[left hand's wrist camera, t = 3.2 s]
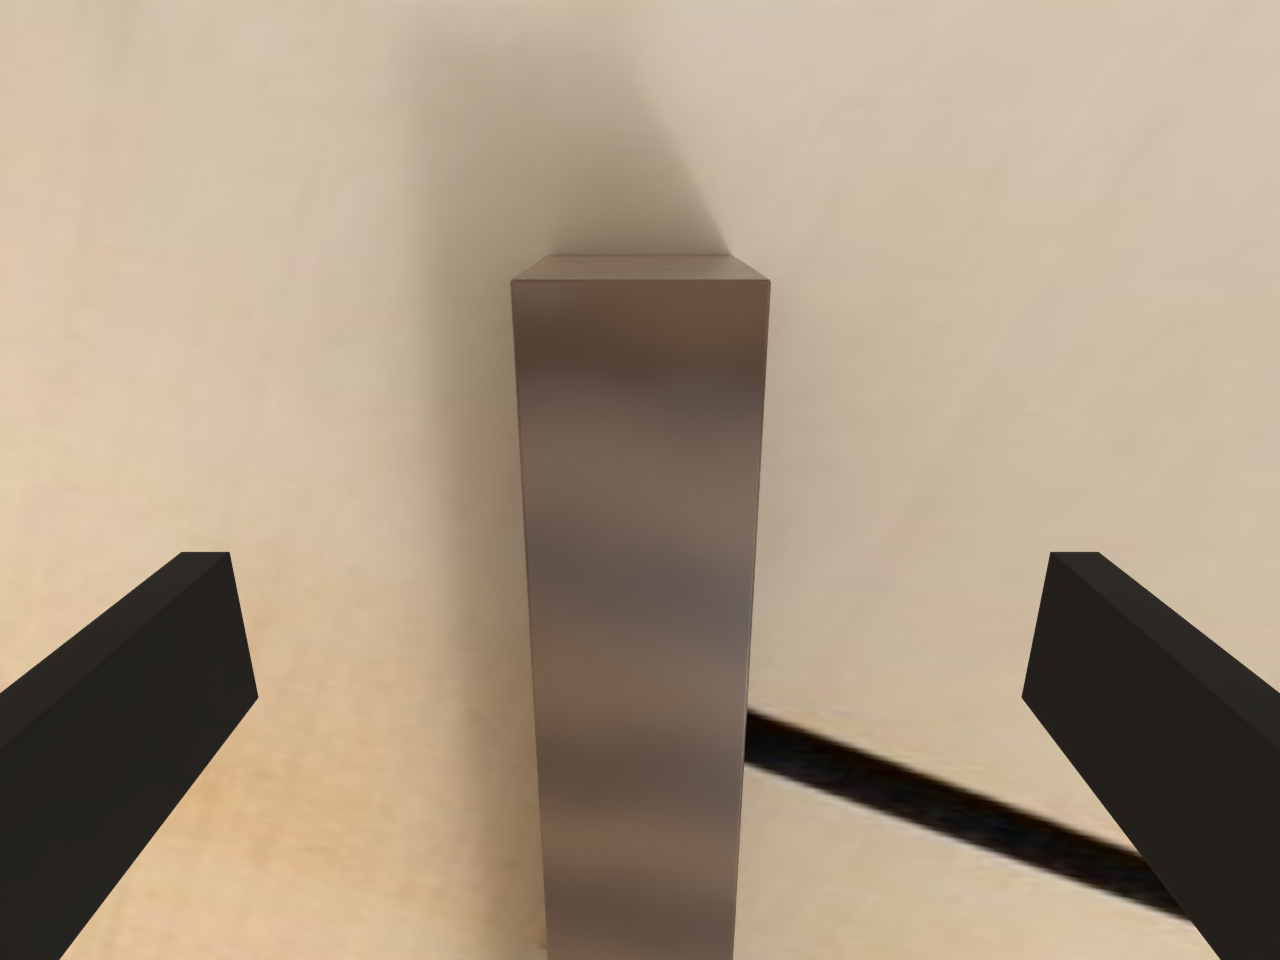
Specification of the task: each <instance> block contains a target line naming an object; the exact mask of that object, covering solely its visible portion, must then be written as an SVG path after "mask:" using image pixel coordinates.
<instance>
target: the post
mask: <svg viewBox="0 0 1280 960" xmlns="http://www.w3.org/2000/svg"><path fill="white" fill-rule="evenodd" d="M510 284H511V302H512V320H513V338H514V356H515V374H516V392H517V410H518V428H519V446H520V464H521V482H522V500H523V518H524V536H525V554H526V572H527V590H528V608H529V626H530V644H531V662H532V680H533V698H534V716H535V735H536V753H537V771H538V789H539V807H540V825H541V843H542V861H543V879H544V897H545V915H546V933H547V951H548V960H733V949H734V931H735V914H736V896H737V878H738V860H739V842H740V824H741V807H742V789H743V771H744V753H745V735H746V717H747V700H748V682H749V664H750V646H751V628H752V610H753V593H754V575H755V557H756V539H757V521H758V504H759V486H760V468H761V450H762V432H763V414H764V397H765V379H766V361H767V343H768V325H769V307H770V290H771V281H770V280H769V279H768V278H766V277H765V276H763V275H762V274H760V273H758V272H757V271H755V270H754V269H752V268H751V267H749V266H748V265H746V264H745V263H743V262H742V261H740V260H739V259H737V258H736V257H734V256H732V255H549V256H547V257H545V258H544V259H542V260H541V261H539V262H538V263H536V264H535V265H533V266H532V267H530V268H529V269H527V270H526V271H524V272H523V273H521V274H520V275H518V276H517V277H515V278H514V279H512V280H511V282H510Z"/></svg>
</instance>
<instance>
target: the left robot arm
mask: <svg viewBox="0 0 1280 960" xmlns="http://www.w3.org/2000/svg"><path fill="white" fill-rule="evenodd" d="M257 699H258V693H257V688H256V683H255V678H254V673H253V668H252V663H251V658H250V653H249V648H248V643H247V638H246V633H245V628H244V623H243V618H242V613H241V608H240V603H239V597H238V592H237V587H236V582H235V577H234V572H233V567H232V562H231V557H230V552H181V553H180V554H178V555H177V556H176V557H175V558H173V559H172V560H171V561H169V562H168V563H167V564H166V565H164V566H163V567H162V568H160V569H159V570H158V571H157V572H155V573H154V574H153V575H151V576H150V577H149V578H148V579H146V580H145V581H144V582H142V583H141V584H140V585H139V586H137V587H136V588H135V589H133V590H132V591H131V592H130V593H128V594H127V595H126V596H124V597H123V598H122V599H121V600H119V601H118V602H117V603H115V604H114V605H113V606H112V607H110V608H109V609H108V610H107V611H105V612H104V613H103V614H101V615H100V616H99V617H98V618H96V619H95V620H94V621H92V622H91V623H90V624H89V625H87V626H86V627H85V628H83V629H82V630H81V631H80V632H78V633H77V634H76V635H74V636H73V637H72V638H71V639H69V640H68V641H67V642H65V643H64V644H63V645H62V646H60V647H59V648H58V649H56V650H55V651H54V652H53V653H51V654H50V655H49V656H47V657H46V658H45V659H44V660H42V661H41V662H40V663H38V664H37V665H36V666H35V667H33V668H32V669H31V670H29V671H28V672H27V673H26V674H24V675H23V676H22V677H20V678H19V679H18V680H17V681H15V682H14V683H13V684H11V685H10V686H9V687H8V688H6V689H5V690H4V691H2V692H1V693H0V960H60V958H61V957H62V956H63V954H64V953H65V952H66V950H67V949H68V948H69V946H70V945H71V944H72V942H73V941H74V940H75V938H76V937H77V936H78V934H79V933H80V932H81V931H82V929H83V928H84V927H85V925H86V924H87V923H88V921H89V920H90V919H91V917H92V916H93V915H94V913H95V912H96V911H97V909H98V908H99V907H100V906H101V904H102V903H103V902H104V900H105V899H106V898H107V896H108V895H109V894H110V892H111V891H112V890H113V888H114V887H115V886H116V884H117V883H118V882H119V880H120V879H121V878H122V877H123V875H124V874H125V873H126V871H127V870H128V869H129V867H130V866H131V865H132V863H133V862H134V861H135V859H136V858H137V857H138V855H139V854H140V853H141V852H142V850H143V849H144V848H145V846H146V845H147V844H148V842H149V841H150V840H151V838H152V837H153V836H154V834H155V833H156V832H157V830H158V829H159V828H160V826H161V825H162V824H163V823H164V821H165V820H166V819H167V817H168V816H169V815H170V813H171V812H172V811H173V809H174V808H175V807H176V805H177V804H178V803H179V801H180V800H181V799H182V798H183V796H184V795H185V794H186V792H187V791H188V790H189V788H190V787H191V786H192V784H193V783H194V782H195V780H196V779H197V778H198V776H199V775H200V774H201V772H202V771H203V770H204V769H205V767H206V766H207V765H208V763H209V762H210V761H211V759H212V758H213V757H214V755H215V754H216V753H217V751H218V750H219V749H220V747H221V746H222V745H223V744H224V742H225V741H226V740H227V738H228V737H229V736H230V734H231V733H232V732H233V730H234V729H235V728H236V726H237V725H238V724H239V722H240V721H241V720H242V718H243V717H244V716H245V715H246V713H247V712H248V711H249V709H250V708H251V707H252V705H253V704H254V703H255V701H256V700H257ZM1022 699H1023V700H1024V701H1025V703H1026V704H1027V705H1028V707H1029V708H1030V709H1031V711H1032V712H1033V713H1034V715H1035V716H1036V717H1037V719H1038V720H1039V721H1040V722H1041V724H1042V725H1043V726H1044V728H1045V729H1046V730H1047V732H1048V733H1049V734H1050V736H1051V737H1052V738H1053V740H1054V741H1055V742H1056V744H1057V745H1058V746H1059V747H1060V749H1061V750H1062V751H1063V753H1064V754H1065V755H1066V757H1067V758H1068V759H1069V761H1070V762H1071V763H1072V765H1073V766H1074V767H1075V769H1076V770H1077V771H1078V772H1079V774H1080V775H1081V776H1082V778H1083V779H1084V780H1085V782H1086V783H1087V784H1088V786H1089V787H1090V788H1091V790H1092V791H1093V792H1094V794H1095V795H1096V796H1097V798H1098V799H1099V800H1100V801H1101V803H1102V804H1103V805H1104V807H1105V808H1106V809H1107V811H1108V812H1109V813H1110V815H1111V816H1112V817H1113V819H1114V820H1115V821H1116V823H1117V824H1118V825H1119V826H1120V828H1121V829H1122V830H1123V832H1124V833H1125V834H1126V836H1127V837H1128V838H1129V840H1130V841H1131V842H1132V844H1133V845H1134V846H1135V848H1136V849H1137V850H1138V852H1139V853H1140V854H1141V855H1142V857H1143V858H1144V859H1145V861H1146V862H1147V863H1148V865H1149V866H1150V867H1151V869H1152V870H1153V871H1154V873H1155V874H1156V875H1157V877H1158V878H1159V879H1160V880H1161V882H1162V883H1163V884H1164V886H1165V887H1166V888H1167V890H1168V891H1169V892H1170V894H1171V895H1172V896H1173V898H1174V899H1175V900H1176V902H1177V903H1178V904H1179V906H1180V907H1181V908H1182V909H1183V911H1184V912H1185V913H1186V915H1187V916H1188V917H1189V919H1190V920H1191V921H1192V923H1193V924H1194V925H1195V927H1196V928H1197V929H1198V931H1199V932H1200V933H1201V934H1202V936H1203V937H1204V938H1205V940H1206V941H1207V942H1208V944H1209V945H1210V946H1211V948H1212V949H1213V950H1214V952H1215V953H1216V954H1217V956H1218V957H1219V958H1220V960H1280V693H1279V692H1278V691H1276V690H1275V689H1274V688H1272V687H1271V686H1270V685H1269V684H1267V683H1266V682H1265V681H1263V680H1262V679H1261V678H1260V677H1258V676H1257V675H1256V674H1254V673H1253V672H1252V671H1251V670H1249V669H1248V668H1247V667H1245V666H1244V665H1243V664H1242V663H1240V662H1239V661H1238V660H1236V659H1235V658H1234V657H1233V656H1231V655H1230V654H1229V653H1227V652H1226V651H1225V650H1224V649H1222V648H1221V647H1220V646H1218V645H1217V644H1216V643H1215V642H1213V641H1212V640H1211V639H1209V638H1208V637H1207V636H1206V635H1204V634H1203V633H1202V632H1200V631H1199V630H1198V629H1197V628H1195V627H1194V626H1193V625H1191V624H1190V623H1189V622H1188V621H1186V620H1185V619H1184V618H1182V617H1181V616H1180V615H1179V614H1177V613H1176V612H1175V611H1173V610H1172V609H1171V608H1170V607H1168V606H1167V605H1166V604H1165V603H1163V602H1162V601H1161V600H1159V599H1158V598H1157V597H1156V596H1154V595H1153V594H1152V593H1150V592H1149V591H1148V590H1147V589H1145V588H1144V587H1143V586H1141V585H1140V584H1139V583H1138V582H1136V581H1135V580H1134V579H1132V578H1131V577H1130V576H1129V575H1127V574H1126V573H1125V572H1123V571H1122V570H1121V569H1120V568H1118V567H1117V566H1116V565H1114V564H1113V563H1112V562H1111V561H1109V560H1108V559H1107V558H1105V557H1104V556H1103V555H1102V554H1100V553H1099V552H1050V557H1049V562H1048V567H1047V572H1046V577H1045V582H1044V587H1043V592H1042V597H1041V602H1040V608H1039V613H1038V618H1037V623H1036V628H1035V633H1034V638H1033V643H1032V648H1031V653H1030V658H1029V663H1028V668H1027V673H1026V678H1025V683H1024V688H1023V693H1022Z"/></svg>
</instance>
